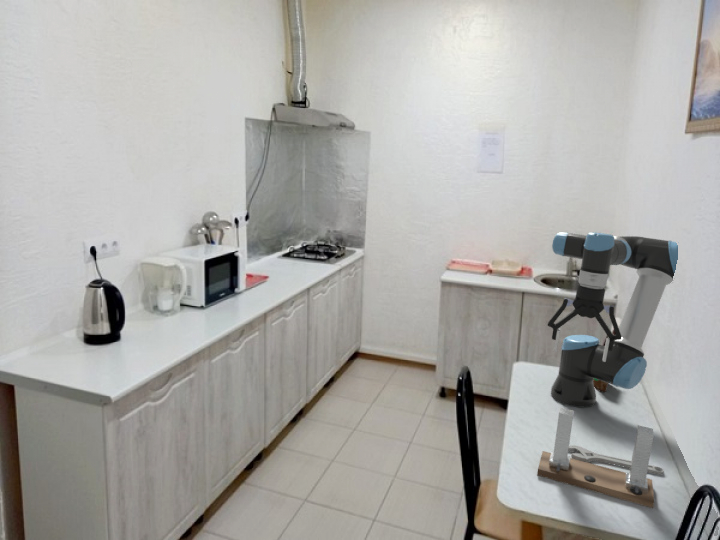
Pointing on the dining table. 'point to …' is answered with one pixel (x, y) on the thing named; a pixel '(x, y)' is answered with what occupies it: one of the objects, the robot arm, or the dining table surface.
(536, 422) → the dining table surface
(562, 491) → the dining table surface
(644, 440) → the fixed leg
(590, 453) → the adjustable wrench
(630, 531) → the dining table surface
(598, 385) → the food container
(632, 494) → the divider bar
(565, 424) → the block
